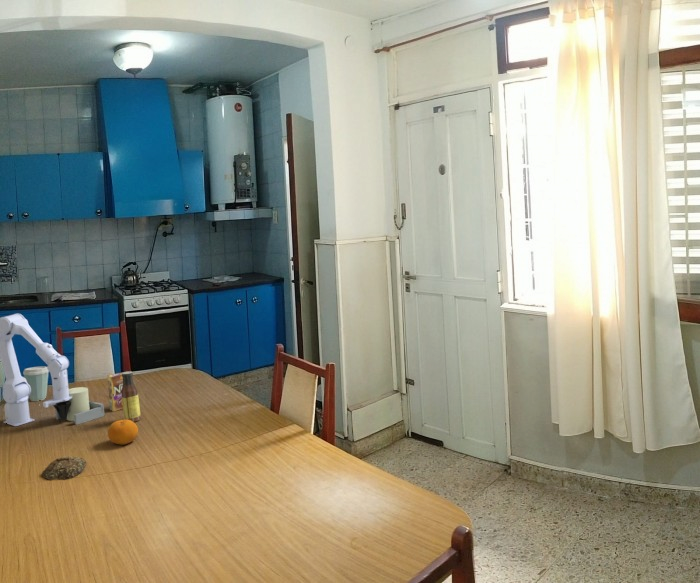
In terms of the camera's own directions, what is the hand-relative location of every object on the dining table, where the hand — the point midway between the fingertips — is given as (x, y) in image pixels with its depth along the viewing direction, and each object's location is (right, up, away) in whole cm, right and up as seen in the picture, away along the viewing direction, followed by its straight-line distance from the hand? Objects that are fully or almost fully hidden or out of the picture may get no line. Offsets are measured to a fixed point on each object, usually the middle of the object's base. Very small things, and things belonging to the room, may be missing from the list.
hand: (63, 419), depth 250 cm
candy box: (+17, +1, +16) cm, 24 cm away
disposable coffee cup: (-27, +2, +35) cm, 44 cm away
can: (+3, 0, +6) cm, 7 cm away
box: (+4, 0, +6) cm, 7 cm away
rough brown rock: (+23, -7, -49) cm, 54 cm away
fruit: (+33, -3, -24) cm, 41 cm away
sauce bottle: (+28, 0, 0) cm, 28 cm away
